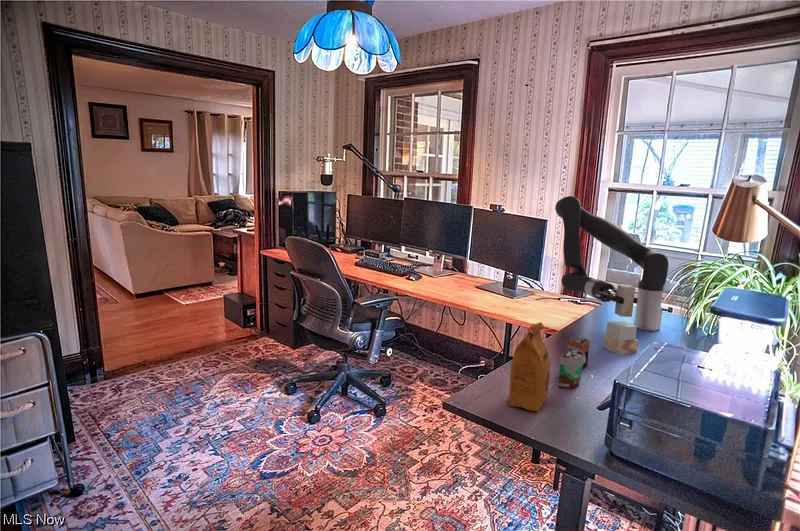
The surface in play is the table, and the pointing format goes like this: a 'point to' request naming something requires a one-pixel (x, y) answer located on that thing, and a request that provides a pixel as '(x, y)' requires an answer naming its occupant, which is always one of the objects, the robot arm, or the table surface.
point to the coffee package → (530, 371)
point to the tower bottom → (620, 345)
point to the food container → (571, 368)
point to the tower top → (621, 330)
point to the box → (625, 300)
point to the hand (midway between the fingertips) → (629, 301)
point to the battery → (581, 346)
